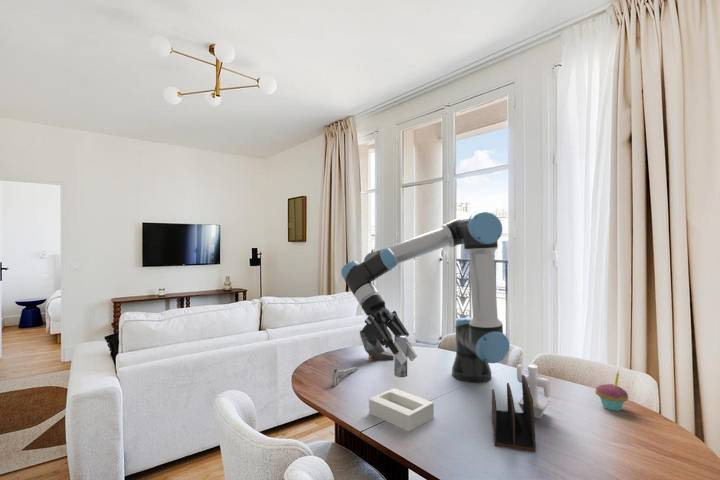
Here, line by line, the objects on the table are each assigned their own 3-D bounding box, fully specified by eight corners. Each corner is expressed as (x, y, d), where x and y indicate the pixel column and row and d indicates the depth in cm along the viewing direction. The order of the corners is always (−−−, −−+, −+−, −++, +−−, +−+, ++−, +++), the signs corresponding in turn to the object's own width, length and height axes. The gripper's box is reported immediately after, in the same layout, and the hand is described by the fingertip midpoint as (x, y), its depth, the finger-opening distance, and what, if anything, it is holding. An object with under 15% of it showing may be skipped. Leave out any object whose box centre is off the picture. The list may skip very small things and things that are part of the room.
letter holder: (526, 417, 109) (525, 371, 110) (536, 453, 91) (535, 397, 91) (491, 413, 113) (490, 367, 113) (494, 447, 94) (493, 392, 94)
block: (369, 413, 113) (369, 398, 113) (394, 401, 121) (394, 388, 121) (409, 431, 102) (408, 415, 102) (433, 417, 110) (433, 402, 110)
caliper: (334, 387, 135) (334, 370, 135) (332, 387, 135) (332, 370, 135) (357, 369, 154) (357, 354, 154) (355, 369, 154) (355, 354, 154)
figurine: (547, 423, 105) (546, 371, 106) (514, 413, 111) (513, 365, 112) (553, 414, 111) (552, 365, 111) (521, 405, 117) (520, 359, 117)
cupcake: (622, 403, 117) (622, 367, 117) (633, 415, 109) (632, 376, 109) (592, 400, 120) (591, 364, 120) (600, 411, 112) (599, 373, 112)
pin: (408, 373, 113) (408, 335, 113) (406, 378, 109) (406, 338, 109) (395, 372, 114) (395, 334, 114) (393, 376, 110) (393, 337, 110)
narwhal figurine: (360, 354, 174) (360, 317, 175) (392, 354, 174) (391, 317, 174) (359, 364, 160) (359, 323, 160) (394, 363, 160) (393, 323, 160)
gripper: (381, 304, 129) (419, 360, 117) (346, 310, 117) (384, 374, 105) (392, 290, 125) (432, 347, 113) (357, 295, 113) (397, 360, 101)
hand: (409, 360), depth 109 cm, fingers closed on pin, 4 cm apart
